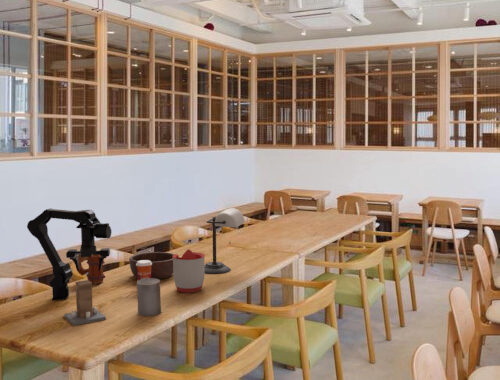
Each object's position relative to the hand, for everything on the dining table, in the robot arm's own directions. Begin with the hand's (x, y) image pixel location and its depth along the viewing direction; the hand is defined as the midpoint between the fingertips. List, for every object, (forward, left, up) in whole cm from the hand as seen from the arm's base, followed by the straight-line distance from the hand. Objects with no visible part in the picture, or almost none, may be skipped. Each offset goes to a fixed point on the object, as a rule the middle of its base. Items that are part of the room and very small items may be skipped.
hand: (89, 271), depth 259 cm
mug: (-4, +29, -13) cm, 32 cm away
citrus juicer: (+45, +10, -13) cm, 48 cm away
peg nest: (+2, -27, -13) cm, 30 cm away
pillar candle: (+28, -23, -13) cm, 39 cm away
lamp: (+63, +45, -13) cm, 79 cm away
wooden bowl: (+27, +39, -13) cm, 49 cm away
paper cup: (+24, +12, -13) cm, 30 cm away
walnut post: (+2, -27, -12) cm, 29 cm away
